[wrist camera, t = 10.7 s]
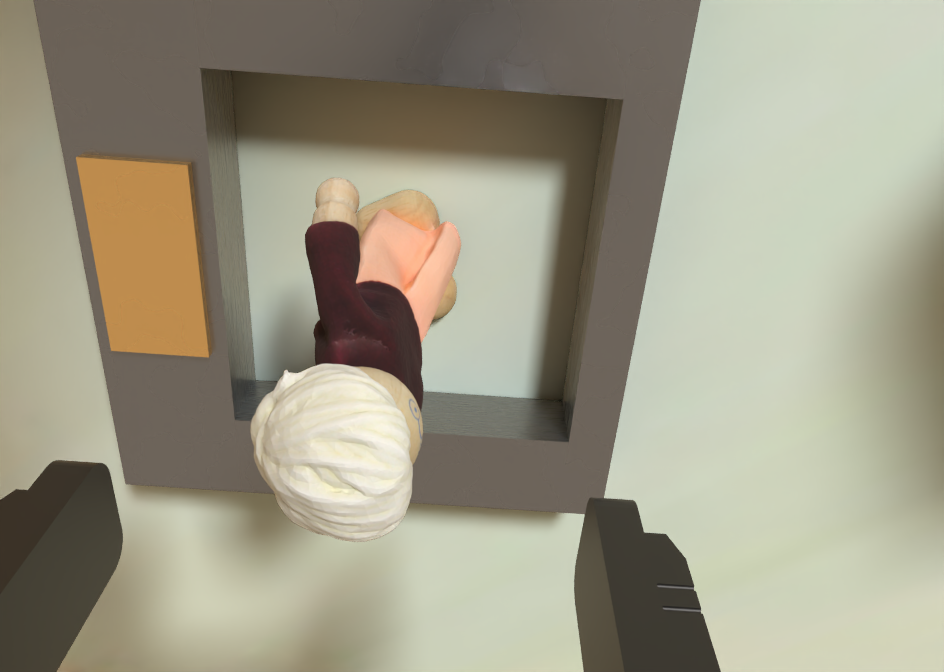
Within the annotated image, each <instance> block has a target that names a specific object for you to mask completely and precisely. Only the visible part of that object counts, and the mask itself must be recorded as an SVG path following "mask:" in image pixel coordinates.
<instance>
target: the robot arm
mask: <svg viewBox="0 0 944 672" xmlns="http://www.w3.org/2000/svg"><path fill="white" fill-rule="evenodd" d="M122 543H123V533H122V527H121V523H120V518H119V513H118V508H117V504H116V499H115V494H114V490H113V485H112V480H111V476H110V472H109V469H108V467H107V466H106V465H105V464H103V463H92V462H77V461H62V460H56V461H53V462H52V463H50V464H49V465H48V466H47V467H46V469H45V470H44V471H43V472H42V473H41V475H40V476H39V477H38V478H37V480H36V481H35V482H34V483H33V484H32V486H31V487H30V488H29V489H28V490H17V489H16V490H15V491H13V492H12V493H10V494H9V495H7V496H6V497H4V498H3V499H1V500H0V672H56V671H57V670H58V668H59V666H60V664H61V663H62V661H63V659H64V658H65V656H66V654H67V652H68V651H69V649H70V647H71V645H72V644H73V642H74V640H75V639H76V637H77V635H78V633H79V632H80V630H81V628H82V626H83V625H84V623H85V621H86V620H87V618H88V616H89V614H90V613H91V611H92V609H93V607H94V606H95V604H96V602H97V601H98V599H99V597H100V595H101V594H102V592H103V590H104V588H105V587H106V585H107V583H108V582H109V580H110V578H111V576H112V575H113V573H114V571H115V569H116V567H117V565H118V562H119V559H120V555H121V550H122ZM574 593H575V605H576V613H577V621H578V629H579V637H580V645H581V653H582V661H583V668H584V672H721V671H720V668H719V665H718V661H717V658H716V655H715V652H714V648H713V645H712V642H711V639H710V636H709V632H708V629H707V626H706V623H705V619H704V616H703V614H701V606H700V603H699V600H698V597H697V594H696V591H694V584H693V581H692V577H691V574H690V571H689V568H688V564H687V561H686V558H685V557H684V556H683V555H682V553H681V552H680V551H679V550H678V549H677V547H676V546H675V545H674V544H673V542H672V541H671V540H670V539H669V537H668V536H667V535H666V534H656V533H644V531H643V527H642V523H641V519H640V515H639V511H638V508H637V505H636V502H635V501H633V500H622V499H607V498H592V497H591V498H589V500H588V503H587V507H586V512H585V517H584V523H583V528H582V533H581V538H580V544H579V549H578V554H577V560H576V566H575V579H574Z"/></svg>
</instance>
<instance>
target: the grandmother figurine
mask: <svg viewBox="0 0 944 672" xmlns="http://www.w3.org/2000/svg"><path fill="white" fill-rule="evenodd" d="M358 206H359V194H358V191H357V189H356V188H355V186H354V185H353V184H352V183H351V182H349V181H348V180H346V179H342V178H331V179H328V180H326V181H325V182H323V183H322V184H321V185H320V186H319V187H318V190H317V193H316V207H317V209H316V210H315V213H314V215H313V221H312V225H311V226H310V227H309V228H308V229H307V232H306V234H305V244H306V253H307V257H308V261H309V266H310V270H311V274H312V278H313V283H314V288H315V294H316V300H317V305H318V312H319V316H320V320H319V321H318V322H317V324H316V325H315V328H314V337H315V340H316V342H315V362H316V366H313V367H310V368H308V369H306V370H304V371H301V372H299V373H292V372H288V370H285V371H284V374H283V376H282V377H281V378H280V379H279V381H278V383H277V385H276V387H275V389H274V390H273V391H272V392H270V393H269V394H267V395H266V396H265V397H264V398H263V399H262V401H261V403H260V404H259V406H258V408H257V410H256V413H255V414H254V416H253V418H252V421H251V429H250V433H251V438H252V442H253V445H254V460H255V463H256V465H257V467H258V470H259V472H260V474H261V476H262V477H263V478H264V480H265V481H266V482H267V484H268V485H269V486H270V488H271V489H272V490H273V491H274V493H275V497H276V500H277V503H278V505H279V507H280V508H281V510H282V511H283V512H284V514H285V515H286V516H287V517H288V518H289V519H290V520H291V521H292V522H293V523H295V524H297V525H299V526H301V527H303V528H305V529H307V530H309V531H312V532H315V533H317V534H322V535H327V536H331V537H334V538H336V539H340V540H345V541H354V542H365V541H369V540H373V539H377V538H379V537H382V536H384V535H386V534H388V533H389V532H391V531H393V530H394V529H395V528H396V527H397V526H398V525H399V523H400V522H401V520H402V519H403V517H404V516H405V514H406V511H407V509H408V506H409V502H410V498H411V494H412V477H413V466H412V465H413V464H414V462H415V460H416V458H417V455H418V453H419V450H420V447H421V443H422V436H423V424H422V417H421V409H422V403H423V382H422V377H421V368H422V347H421V342H422V341H423V339H424V337H425V336H426V334H427V332H428V330H429V327H430V324H431V322H432V320H435V319H438V318H441V317H443V316H444V315H446V314H447V313H448V312H449V311H450V310H451V309H452V307H453V306H454V304H455V301H456V293H457V287H456V283H455V280H454V278H453V277H452V273H453V271H454V269H455V266H456V263H457V260H458V256H459V253H460V247H461V241H460V237H459V234H458V231H457V229H456V227H455V226H454V225H453V224H452V223H450V222H447V221H446V222H444V223H442V224H440V221H439V216H438V213H437V210H436V207H435V205H434V204H433V202H432V201H431V200H430V199H429V198H428V197H427V196H426V195H424V194H423V193H421V192H418V191H413V190H404V191H400V192H397V193H395V194H392V195H390V196H388V197H386V198H383V199H381V200H379V201H377V202H374V203H372V204H369V205H367V206H365V207H363V208H362V209H361V210H359V211H358V213H357V214H356V212H357V209H358ZM439 225H440V226H439Z"/></svg>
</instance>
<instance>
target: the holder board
mask: <svg viewBox="0 0 944 672" xmlns="http://www.w3.org/2000/svg"><path fill="white" fill-rule="evenodd" d="M700 1H701V0H34V5H35V10H36V15H37V21H38V26H39V31H40V36H41V42H42V47H43V52H44V57H45V63H46V68H47V73H48V78H49V84H50V89H51V94H52V99H53V105H54V110H55V115H56V121H57V126H58V131H59V136H60V142H61V147H62V152H63V157H64V163H65V168H66V173H67V178H68V184H69V189H70V194H71V199H72V205H73V210H74V215H75V220H76V226H77V231H78V236H79V241H80V247H81V252H82V257H83V262H84V268H85V273H86V278H87V283H88V289H89V294H90V299H91V304H92V310H93V315H94V320H95V325H96V331H97V336H98V341H99V346H100V352H101V357H102V362H103V367H104V373H105V378H106V383H107V389H108V394H109V399H110V404H111V410H112V415H113V420H114V425H115V431H116V436H117V441H118V446H119V452H120V457H121V462H122V467H123V473H124V478H125V483H126V484H131V485H146V486H162V487H177V488H192V489H208V490H223V491H239V492H254V493H269V494H275V493H274V491H273V490H272V489H271V488H270V486H269V485H268V484H267V482H266V481H265V480H264V478H263V477H262V476H261V474H260V472H259V470H258V467H257V465H256V463H255V460H254V445H253V442H252V438H251V433H250V429H251V421H252V418H253V416H254V414H255V413H256V410H257V408H258V406H259V404H260V403H261V401H262V399H263V398H264V397H265V396H266V395H267V394H269V393H270V392H272V391H273V390H274V389H275V387H276V385H277V383H278V382H273V381H259V380H256V379H255V367H254V354H253V341H252V329H251V316H250V304H249V291H248V279H247V266H246V253H245V241H244V228H243V216H242V203H241V191H240V178H239V165H238V153H237V140H236V128H235V115H234V103H233V90H232V77H231V70H234V71H247V72H261V73H274V74H288V75H301V76H314V77H328V78H341V79H355V80H368V81H381V82H395V83H408V84H422V85H435V86H449V87H462V88H475V89H489V90H502V91H516V92H529V93H542V94H556V95H569V96H583V97H596V98H607V103H606V110H605V117H604V123H603V130H602V137H601V143H600V150H599V157H598V163H597V170H596V177H595V183H594V190H593V197H592V203H591V210H590V217H589V224H588V230H587V237H586V244H585V250H584V257H583V264H582V270H581V277H580V284H579V290H578V297H577V304H576V311H575V317H574V324H573V331H572V337H571V344H570V351H569V357H568V364H567V371H566V377H565V384H564V391H563V398H562V401H554V400H540V399H525V398H510V397H495V396H480V395H466V394H451V393H436V392H423V403H422V409H421V417H422V424H423V436H422V443H421V447H420V450H419V453H418V455H417V458H416V460H415V462H414V464H413V465H412V466H413V477H412V494H411V498H410V502H409V503H423V504H438V505H454V506H469V507H485V508H500V509H515V510H531V511H546V512H562V513H577V514H585V512H586V507H587V503H588V500H589V498H591V497H592V498H604V494H605V488H606V483H607V478H608V473H609V468H610V463H611V458H612V453H613V447H614V442H615V437H616V432H617V427H618V422H619V417H620V412H621V406H622V401H623V396H624V391H625V386H626V381H627V376H628V371H629V365H630V360H631V355H632V350H633V345H634V340H635V335H636V329H637V324H638V319H639V314H640V309H641V304H642V299H643V294H644V288H645V283H646V278H647V273H648V268H649V263H650V258H651V253H652V247H653V242H654V237H655V232H656V227H657V222H658V217H659V212H660V206H661V201H662V196H663V191H664V186H665V181H666V176H667V170H668V165H669V160H670V155H671V150H672V145H673V140H674V135H675V129H676V124H677V119H678V114H679V109H680V104H681V99H682V94H683V88H684V83H685V78H686V73H687V68H688V63H689V58H690V53H691V47H692V42H693V37H694V32H695V27H696V22H697V17H698V12H699V6H700Z"/></svg>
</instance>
